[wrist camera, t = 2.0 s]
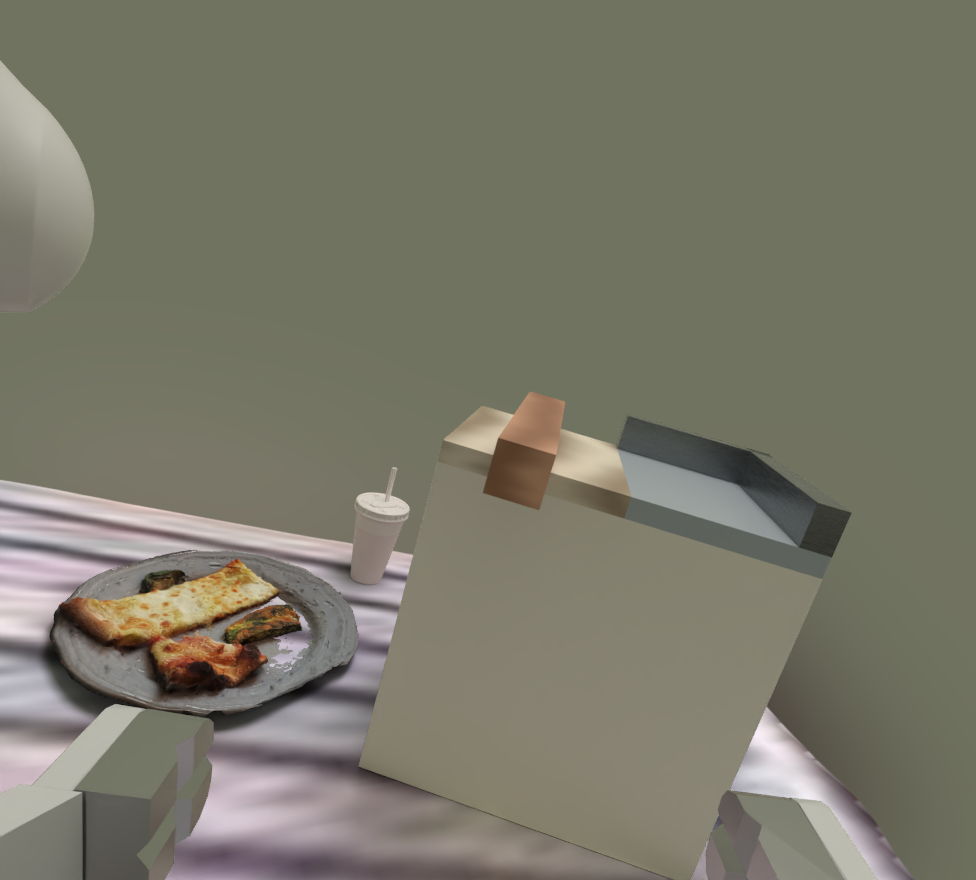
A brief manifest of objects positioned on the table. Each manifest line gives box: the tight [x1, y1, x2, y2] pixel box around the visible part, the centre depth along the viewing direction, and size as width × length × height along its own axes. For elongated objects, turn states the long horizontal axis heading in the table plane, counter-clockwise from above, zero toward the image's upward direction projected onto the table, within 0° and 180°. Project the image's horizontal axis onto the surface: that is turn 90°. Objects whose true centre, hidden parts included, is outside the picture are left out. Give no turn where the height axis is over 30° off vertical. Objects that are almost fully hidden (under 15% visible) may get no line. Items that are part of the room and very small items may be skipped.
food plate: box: [50, 550, 358, 717], centre depth 54 cm, size 25×23×4 cm
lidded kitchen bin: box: [359, 406, 851, 880], centre depth 48 cm, size 25×16×29 cm, turn 81°
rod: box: [483, 392, 565, 510], centre depth 39 cm, size 3×20×3 cm, turn 171°
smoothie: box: [350, 467, 410, 585], centre depth 70 cm, size 6×6×14 cm
